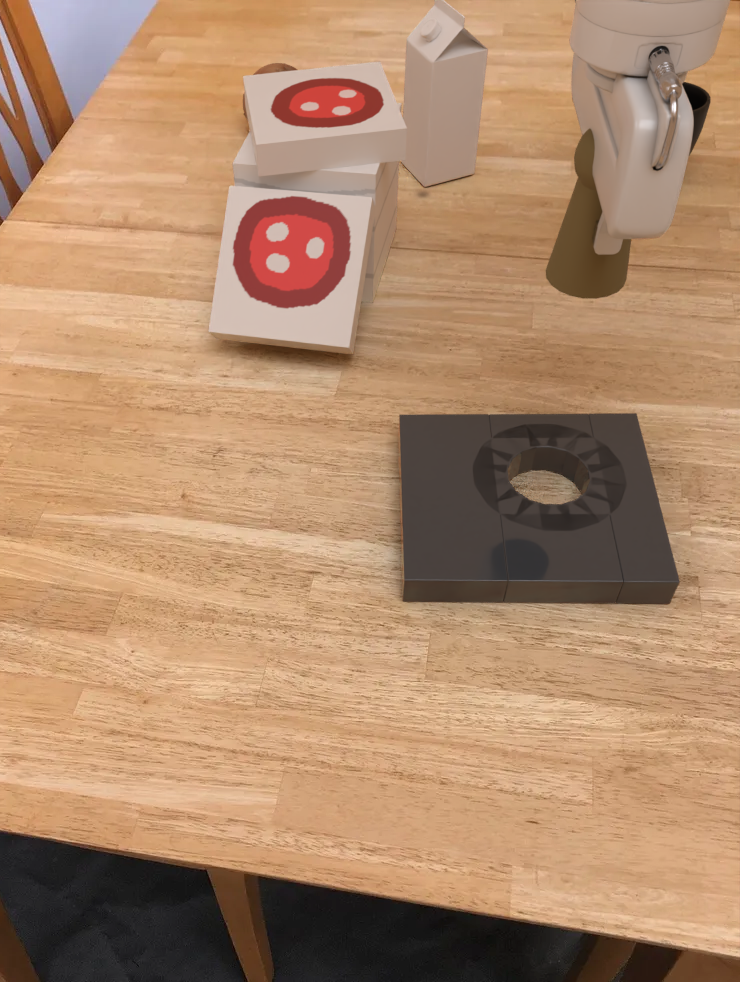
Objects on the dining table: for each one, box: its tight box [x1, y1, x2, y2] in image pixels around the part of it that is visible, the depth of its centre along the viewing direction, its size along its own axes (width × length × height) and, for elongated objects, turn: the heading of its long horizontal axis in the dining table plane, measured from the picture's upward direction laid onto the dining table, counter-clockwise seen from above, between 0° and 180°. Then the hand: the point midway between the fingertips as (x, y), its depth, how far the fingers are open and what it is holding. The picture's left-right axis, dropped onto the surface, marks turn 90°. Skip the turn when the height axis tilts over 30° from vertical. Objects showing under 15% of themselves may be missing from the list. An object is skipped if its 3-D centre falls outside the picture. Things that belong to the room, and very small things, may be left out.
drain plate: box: [397, 412, 681, 605], centre depth 82 cm, size 22×20×3 cm
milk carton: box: [400, 0, 489, 188], centre depth 112 cm, size 7×7×19 cm
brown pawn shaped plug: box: [545, 129, 632, 300], centre depth 66 cm, size 6×6×11 cm
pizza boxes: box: [207, 60, 407, 355], centre depth 98 cm, size 19×30×18 cm, turn 166°
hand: (598, 225), depth 67 cm, fingers closed on brown pawn shaped plug, 4 cm apart
